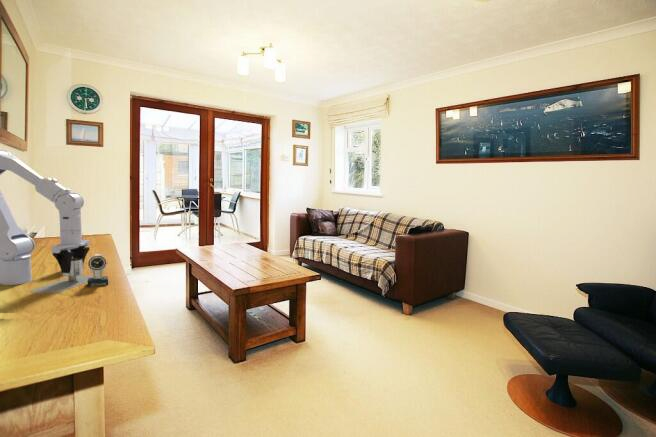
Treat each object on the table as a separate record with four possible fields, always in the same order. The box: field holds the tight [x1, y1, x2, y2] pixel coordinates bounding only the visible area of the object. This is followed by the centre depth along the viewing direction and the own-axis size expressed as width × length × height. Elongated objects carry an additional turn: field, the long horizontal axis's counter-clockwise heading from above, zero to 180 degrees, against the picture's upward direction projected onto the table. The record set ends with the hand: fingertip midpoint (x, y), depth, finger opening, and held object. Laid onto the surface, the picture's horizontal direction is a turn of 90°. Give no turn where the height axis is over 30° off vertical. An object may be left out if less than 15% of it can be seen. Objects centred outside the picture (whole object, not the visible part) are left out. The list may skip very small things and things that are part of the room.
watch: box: [87, 253, 109, 288], centre depth 116 cm, size 6×8×11 cm
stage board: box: [28, 274, 93, 294], centre depth 116 cm, size 9×20×1 cm, turn 179°
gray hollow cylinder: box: [62, 258, 84, 277], centre depth 119 cm, size 5×5×5 cm
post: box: [67, 276, 77, 282], centre depth 119 cm, size 2×2×4 cm
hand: (72, 270), depth 119 cm, fingers closed on gray hollow cylinder, 5 cm apart
